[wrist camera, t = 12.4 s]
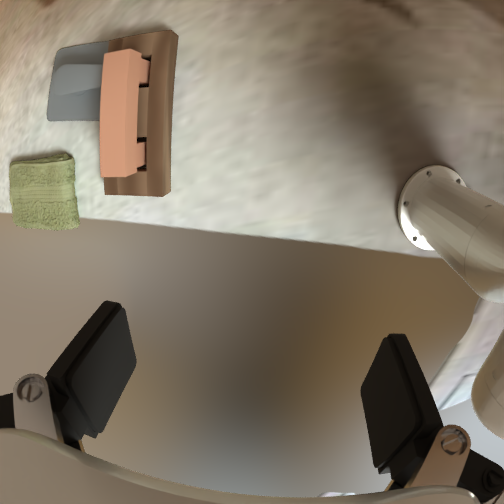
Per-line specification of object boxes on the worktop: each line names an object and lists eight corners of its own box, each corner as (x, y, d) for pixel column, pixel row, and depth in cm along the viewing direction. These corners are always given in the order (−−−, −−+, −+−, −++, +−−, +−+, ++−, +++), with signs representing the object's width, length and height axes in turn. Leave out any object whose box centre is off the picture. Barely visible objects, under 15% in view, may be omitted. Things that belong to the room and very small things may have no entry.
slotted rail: (178, 35, 29) (171, 29, 27) (170, 191, 39) (162, 196, 36) (119, 44, 30) (109, 40, 27) (115, 189, 39) (104, 194, 36)
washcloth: (13, 160, 38) (1, 163, 35) (78, 151, 37) (66, 154, 34) (21, 225, 43) (11, 231, 41) (85, 229, 43) (74, 237, 40)
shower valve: (101, 122, 30) (27, 123, 30) (122, 121, 35) (49, 121, 35) (118, 31, 25) (39, 46, 25) (136, 39, 30) (60, 50, 30)
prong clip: (157, 60, 31) (130, 48, 24) (152, 165, 37) (125, 177, 30) (134, 63, 31) (104, 53, 24) (130, 166, 37) (100, 177, 30)
